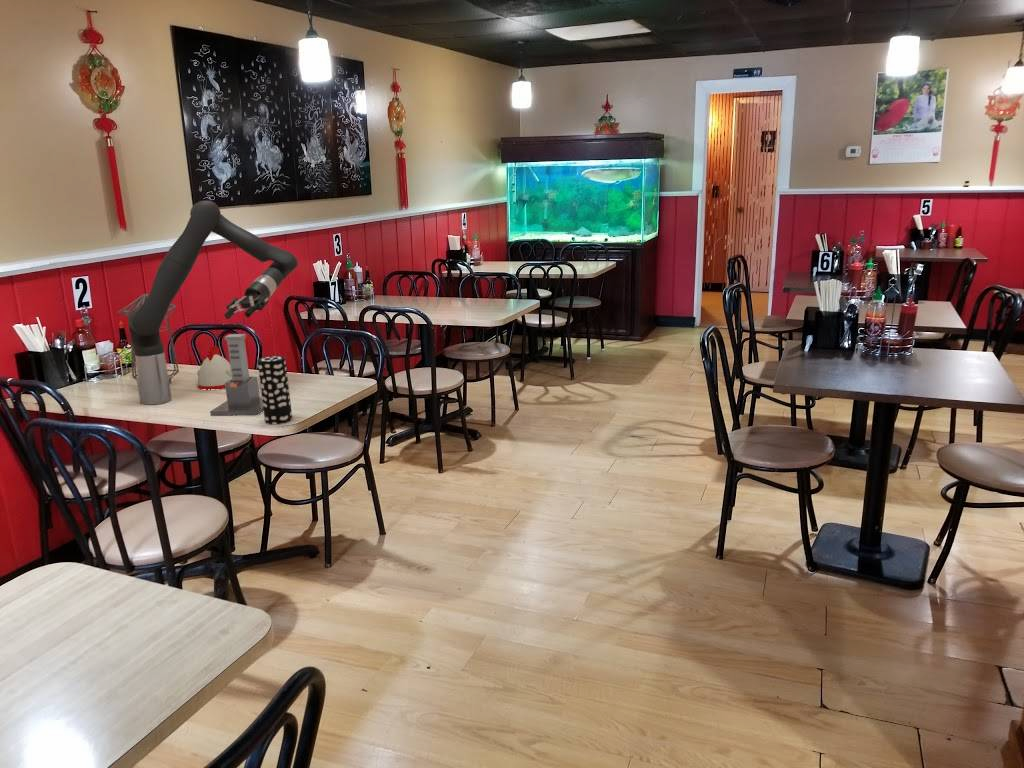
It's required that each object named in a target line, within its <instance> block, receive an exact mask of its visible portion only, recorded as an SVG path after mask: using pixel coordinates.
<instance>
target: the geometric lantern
mask: <svg viewBox="0 0 1024 768" xmlns="http://www.w3.org/2000/svg"><path fill="white" fill-rule="evenodd" d="M148 295H149V294H148V293H145V294H144V293H143V294H142V295H141V296H139V297H138V298H136V299H135V300H134V301H132V302H131V303H129V304H128V305H126V306H125V307H123V308H121V309H120V310H118V313H119V314H122V315H123V316H126V317H127V318H128V316H129V314H130V312H131V311H132V310H133V309H135V308H137V307H141V306H142V305H143V303H144V302H145V300H146V299H147V297H148ZM129 307H130V308H129ZM176 307H177V306H176V305H174V304H173V303H170V305H169V307H168V310H167V312H166V314H167V316H165V317H164V319H163V321H164V323H165V324H166V325H167V326H160V328H159V329H162V330H159V333H161V332H165V331H168V334H169V342H170V348H171V349H170V350H171V355H172V356H171V357H172V361H173V369H167V372H172V373H170V374H168V379H169V382H170V383H171V384H172V383H173V382H172V379H173V378H174V377H175V376H176V375H177V374H178V373H180V370H179V365H178V361H177V354H176V350H175V346H174V340H173V335H172V330H171V325H170V316H171V315H172V313H173V312H174V310H175V309H176ZM127 308H129V309H128V310H127ZM166 319H167V321H166ZM163 328H165V329H163ZM130 348H131V351H130V352H131V355H130V356H131V373H132V375H131V377H132V379H134V380H135V381H137V380H136V377H137V376H138V373H137V364H136V358H135V352H134V349H133V346H132V341H131V340H130ZM170 383H169V385H171V384H170Z"/></svg>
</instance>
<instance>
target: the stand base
mask: <svg viewBox="0 0 1024 768" xmlns="http://www.w3.org/2000/svg"><path fill="white" fill-rule="evenodd" d="M249 378H250V379H249V380H248V381H246V382H233V380H232V379H230V380H229V381H227V382H225V387H226V389H225V394H226V401H224V402H222V403H221V404H219V405H218V406H217V407H215V408H213V409H212V410H210V411H209V412H210V417H211V416H212V417H219V416H220V417H221V416H222V417H224V416H225V417H228V416H229V417H231V416H232V417H233V415H235V416H237V415H258V414H259V415H261V414H262V413H264V412H263V411H264V410H263V402H262V396H261V397H260V391H259V383H258V376H249ZM261 412H262V413H261ZM260 413H261V414H260ZM259 415H258V416H259ZM235 416H234V417H235Z"/></svg>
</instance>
